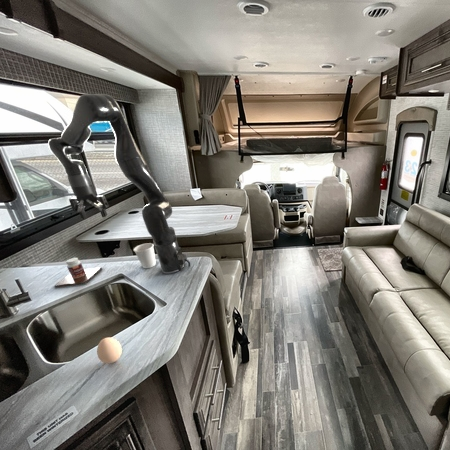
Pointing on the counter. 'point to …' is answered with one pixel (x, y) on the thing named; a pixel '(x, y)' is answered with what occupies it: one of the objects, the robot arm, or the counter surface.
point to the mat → (78, 281)
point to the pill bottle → (75, 268)
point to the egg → (109, 350)
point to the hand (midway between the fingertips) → (95, 217)
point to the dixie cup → (146, 255)
